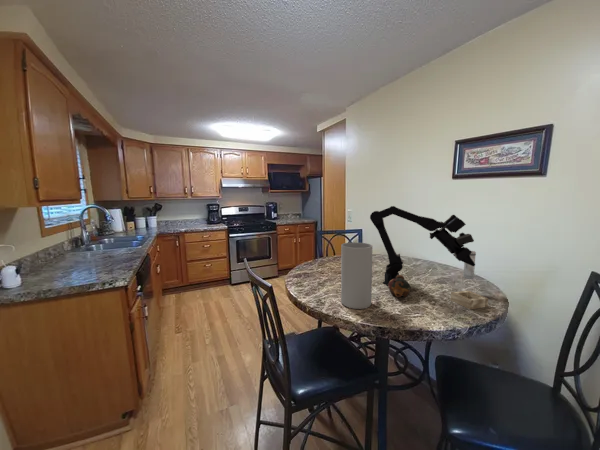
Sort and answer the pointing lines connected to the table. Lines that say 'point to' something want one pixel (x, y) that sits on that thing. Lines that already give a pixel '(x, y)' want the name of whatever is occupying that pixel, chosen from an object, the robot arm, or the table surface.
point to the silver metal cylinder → (469, 267)
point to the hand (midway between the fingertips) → (472, 264)
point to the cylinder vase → (356, 275)
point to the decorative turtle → (399, 286)
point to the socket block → (469, 299)
